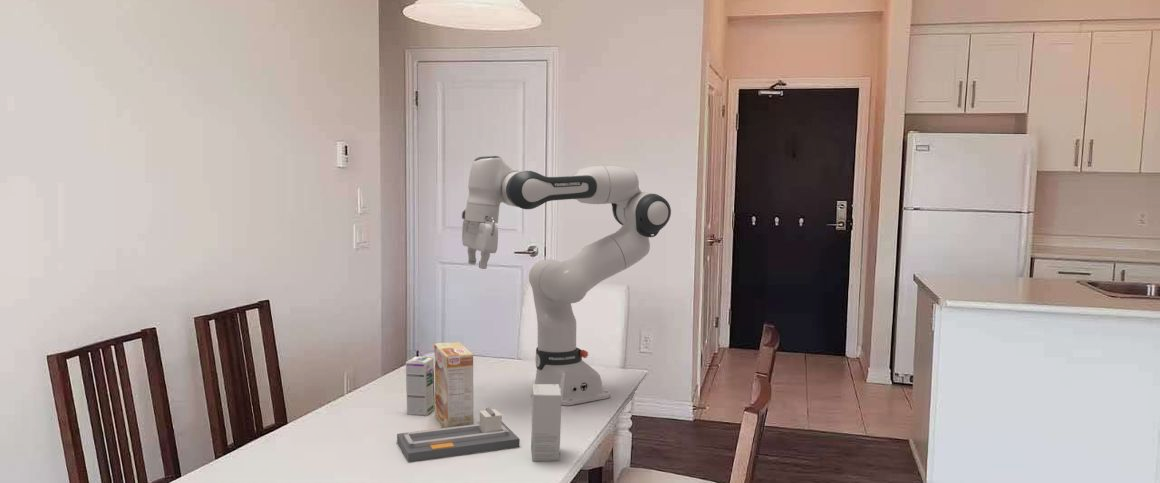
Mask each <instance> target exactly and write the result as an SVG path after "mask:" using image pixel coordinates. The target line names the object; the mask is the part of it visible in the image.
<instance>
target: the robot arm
mask: <svg viewBox="0 0 1160 483" xmlns="http://www.w3.org/2000/svg"><path fill="white" fill-rule="evenodd" d="M639 182H640V181H639V178H638V175H637V173H636V172H635V171H634V170H633V169H632V168H630V167H626V166H625V167H624V166H621V165H620V166H619V165H607V164H605V165H604V164H601V165H591V166H586V167H581V168H579V169H577V171H576V172H575V173H574V175H567V176H566V175H565V176H545V175H542V174H540V173H538V172H536V171H532V170H524V171H522V170H521V171H520V170H518V169H516V168H514V167H513V166H511V165H510V164H508V163H507V162H506V161H505V160H503V158H502V157H500V156H498V155H489V156H485V155H484V156H479V157H476V158H475V159H474V160H473V162H472V164H471V168H470V171H469V178H468V186H467V187H468V198H467V201H466V207H465V209H464V210H462V213H461V219H462V229H461V242H462V246H464V247H466V248H467V257H468V259H467V260H468V261H467V262H468V263H467V264H468V265H473V266H475V265H476V264H477V258H476V252H477V251H479V252H480V261H478V268H479V269H480V270H486V269H487V267H488V263H489V262H488V261H489V259H490V257H491V254H496V253H497V250H498V246H499V245H498V242H499V227H498V225H497V224H498V223H499V215H500V205H501V204H502V203H503V204H505V205H507V206H512V207H516V208H519V209H523V210H533V209H535V208H538V207H540V206H541V205H543V204H546V203H548V202H551V201H562V200H563V201H566V200H576V201H578V202H579V203H582V204H587V205H605V204H606V205H607V204H611V208H612V209H611V210H612V214H613V217H614V219H615V221H616V222H617V223H618V224H620V225H621V227H620V228H619V229H618V230H616V231H615V232H613V233H611V234H608V235H606V236H604V237H602V238H600V239H598V240H597V241H593V242H592V243H590V244H587V245H585V246H583V247H582V249H581V250H580V251H579V252H578V253H577V254H575V255H574V256H573V257H571V258H569V259H568V260H564V261H559V260H556V259H551V258H550V259H549V258H548V259H542V260H540V261H537V262H536V263H534V264H533V265H532V267H531V269H530V270H529V273H528V281H529V284H530V287H531V289H532V290H531V291H532V295H533V302H534V307H535V312H536V313H535V314H536V320H537V347H536V349H535V367H536V373H535V380H534V384H559V387H560V389H561V406H573V405H578V404H583V403H589V402H594V401H598V400H605V399H609V398H610V397H611V392H610V391H609V389H607V388H606V387H604V386H603V382H602V379H601V375H600V373H599V372H598V371H597V370H595V369H594V368H593V367H591V366H590V365H589V364H588V363H586V362H585V361H584V360H583V358H584V359H587V358H588V357H589V352H588V351H587V350H584V349H580V348H579V347H577V318H576V316H575V314H574V311H573V306H572V304H575V303H576V304H577V303H578V302H580V301H582V300H583V299H584V297H585V296H587V293H588V292H589V291H591V289H593V288H594V287H596V286H597V285H598V284H600V283H601V282H603V281H605V280H607V279H608V278H611V277H612V276H615V275H617V274H619V273H621V272H623V271H625V270H626V269H629V268H630V267H632V266H633V265H635V264H637V263H638V262H640V261H641V260H642V259H643V258H645V257H646V256H647V255H648V254H649V252H650V249H651V244H650V243H651V242H650V239H649V238H654V237H656V236H657V235H658V234H659V232H660V231H661V230H662V229H663V228H665V226H667V224H668V222H669V221H670V218H671V214H672V208H671V205H670V203H669V202H668V200H667V199H665V198H664V197H663V196H662V195H659V194H656V193H652V192H651V193H650V192H645V191H642V190H641V189H640V187H639Z"/></svg>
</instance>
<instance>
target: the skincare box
mask: <svg viewBox="0 0 1160 483" xmlns="http://www.w3.org/2000/svg"><path fill="white" fill-rule="evenodd" d="M561 419H562V405H561V389H560V387H559V384H535V383H534V384H532V393H531V438H530V440H531V441H530V442H531V444H530V446H531V447H530V450H531V460H532V462H552V461H553V462H558V461H560V460H561V459H560V454H561V453H560V451H561V450H560V449H561V421H562V420H561Z"/></svg>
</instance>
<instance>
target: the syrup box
mask: <svg viewBox="0 0 1160 483" xmlns="http://www.w3.org/2000/svg"><path fill="white" fill-rule="evenodd" d="M405 376H406V377H405V383H406V384H405V386H406V414H407V415H411V416H424V417H425V416H428V415H429V414H430V413H432V412H434V411H435V357H431V356H414V357H412V358H411V359H408V360H407V361H405Z"/></svg>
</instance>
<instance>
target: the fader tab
mask: <svg viewBox="0 0 1160 483" xmlns="http://www.w3.org/2000/svg"><path fill="white" fill-rule="evenodd" d="M502 419H503V418H502V414H501V413H500V412H499V411H498V410H497V408H496V409H495V408H494V409H492V408H490V407H485V409H484V410H479V424H480V430H481V431H482V432H483V433H488V432H496V431H502V422H503V421H502Z"/></svg>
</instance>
